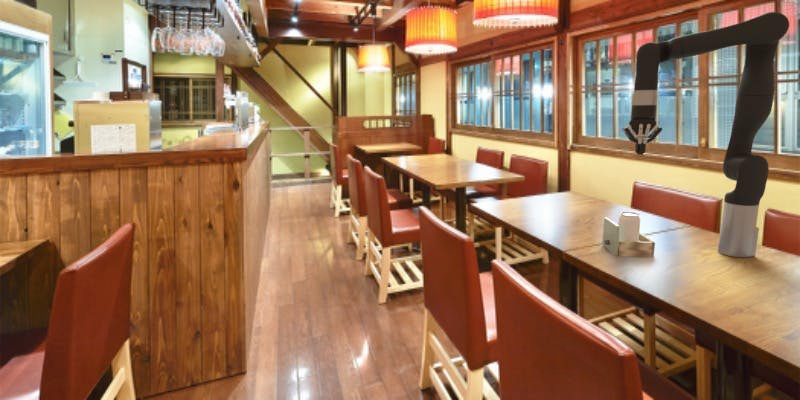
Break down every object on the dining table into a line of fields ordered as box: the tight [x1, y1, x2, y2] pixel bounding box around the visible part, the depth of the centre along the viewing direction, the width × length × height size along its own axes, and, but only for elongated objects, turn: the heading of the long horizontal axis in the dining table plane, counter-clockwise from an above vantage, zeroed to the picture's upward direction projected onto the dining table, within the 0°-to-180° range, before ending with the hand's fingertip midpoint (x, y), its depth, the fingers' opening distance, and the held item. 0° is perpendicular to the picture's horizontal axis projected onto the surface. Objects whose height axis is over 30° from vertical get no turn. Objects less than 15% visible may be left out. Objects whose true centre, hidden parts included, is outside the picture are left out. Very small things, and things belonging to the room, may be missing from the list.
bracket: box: [601, 216, 641, 256], centre depth 155 cm, size 12×12×10 cm
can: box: [617, 211, 641, 246], centre depth 155 cm, size 6×6×12 cm
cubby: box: [617, 232, 656, 258], centre depth 156 cm, size 11×13×5 cm
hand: (639, 154), depth 160 cm, fingers closed
